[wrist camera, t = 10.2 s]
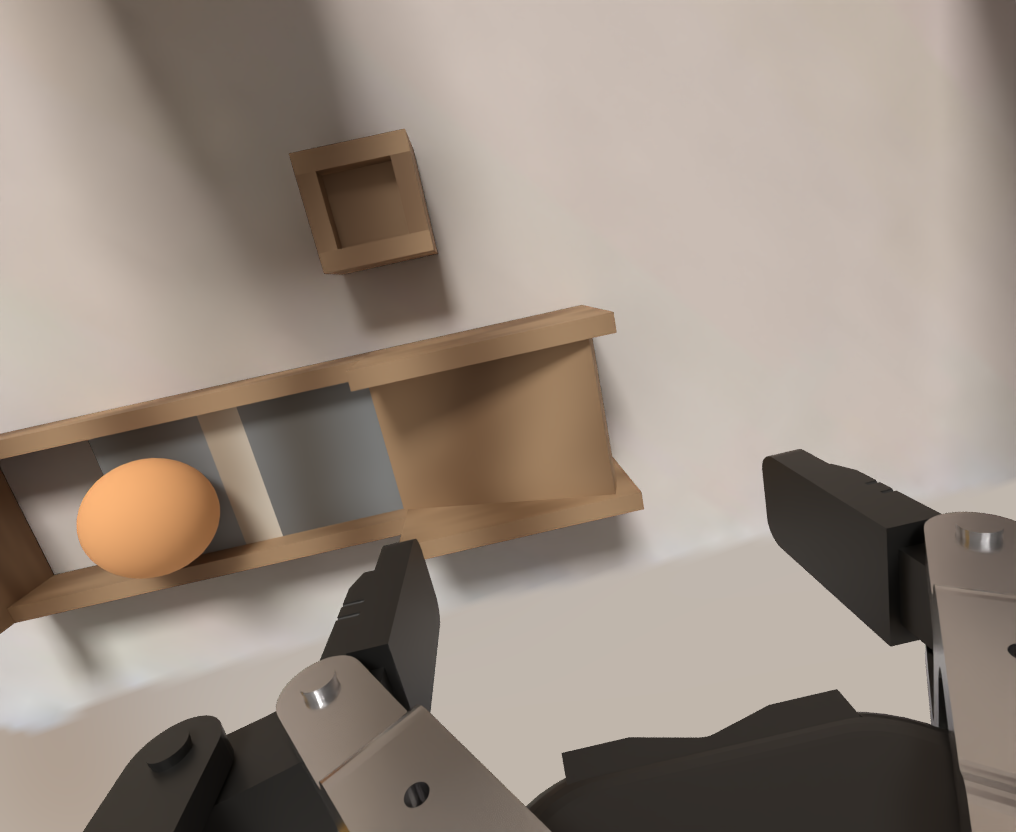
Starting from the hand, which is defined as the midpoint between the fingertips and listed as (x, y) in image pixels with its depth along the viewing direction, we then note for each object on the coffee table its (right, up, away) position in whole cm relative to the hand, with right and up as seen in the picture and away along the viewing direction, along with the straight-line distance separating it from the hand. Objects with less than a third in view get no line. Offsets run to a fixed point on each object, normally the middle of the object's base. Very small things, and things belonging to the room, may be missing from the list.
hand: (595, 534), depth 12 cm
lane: (-11, +1, +11) cm, 16 cm away
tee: (-7, +11, +9) cm, 16 cm away
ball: (-15, -1, +8) cm, 17 cm away
